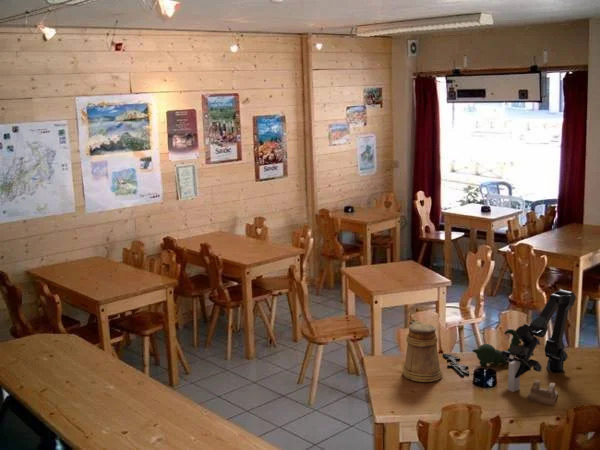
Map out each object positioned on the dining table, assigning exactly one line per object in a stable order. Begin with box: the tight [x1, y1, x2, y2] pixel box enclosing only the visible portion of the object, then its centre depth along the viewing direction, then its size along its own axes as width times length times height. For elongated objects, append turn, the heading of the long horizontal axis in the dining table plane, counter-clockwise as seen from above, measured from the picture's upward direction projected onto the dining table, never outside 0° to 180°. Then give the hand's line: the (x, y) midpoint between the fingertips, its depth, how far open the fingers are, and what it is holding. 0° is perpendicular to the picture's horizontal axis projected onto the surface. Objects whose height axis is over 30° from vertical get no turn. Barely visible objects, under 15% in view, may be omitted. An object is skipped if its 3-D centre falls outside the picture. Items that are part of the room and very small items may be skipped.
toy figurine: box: [472, 328, 522, 368], centre depth 352 cm, size 9×19×25 cm
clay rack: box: [526, 379, 559, 406], centre depth 316 cm, size 12×11×6 cm
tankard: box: [402, 317, 443, 383], centre depth 342 cm, size 18×24×25 cm
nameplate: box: [442, 353, 470, 378], centre depth 353 cm, size 27×2×10 cm
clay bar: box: [507, 361, 521, 393], centre depth 324 cm, size 4×3×13 cm, turn 128°
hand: (512, 376), depth 323 cm, fingers closed on clay bar, 3 cm apart
